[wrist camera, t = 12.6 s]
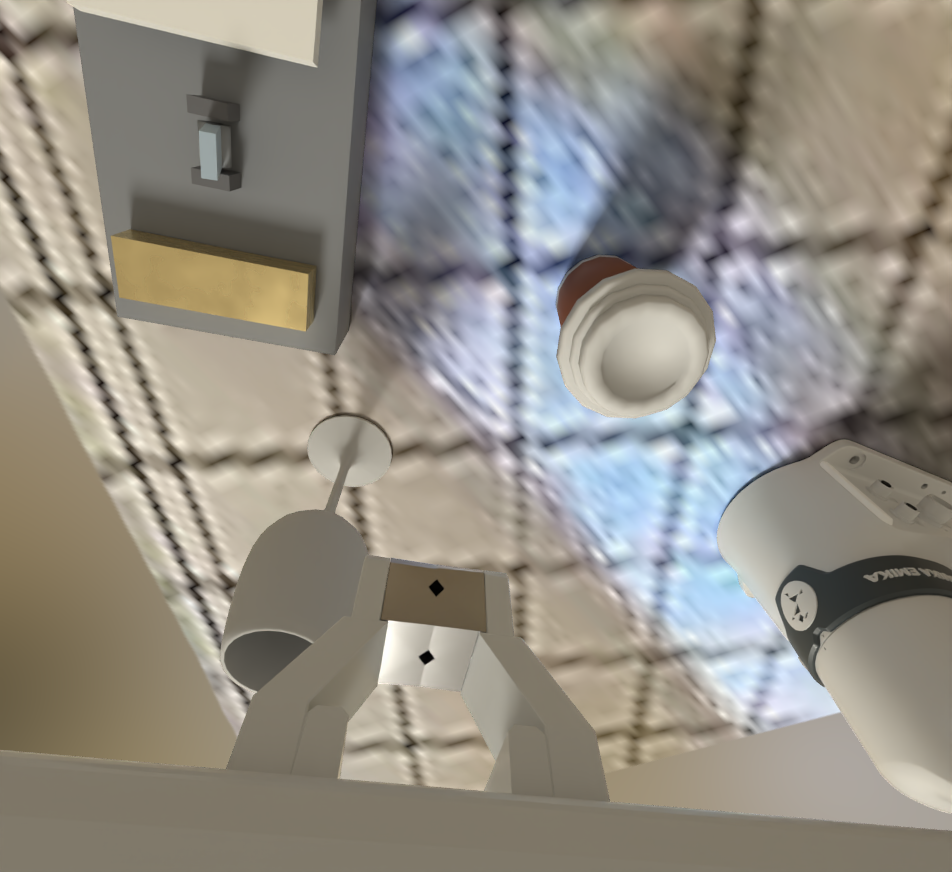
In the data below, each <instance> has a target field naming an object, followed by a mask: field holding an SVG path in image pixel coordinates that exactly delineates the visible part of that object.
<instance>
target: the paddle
mask: <svg viewBox="0 0 952 872" xmlns="http://www.w3.org/2000/svg"><path fill="white" fill-rule="evenodd" d="M197 125H198V144H199V162H200V164H201V178H203V179H210V180H216V181H218V178H219V175H220V172H221V169H222V168H231V167H232V159H231V126H229V125H225V124H221V123H217V122H212V121H205V120H197Z"/></svg>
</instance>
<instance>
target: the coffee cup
mask: <svg viewBox="0 0 952 872" xmlns="http://www.w3.org/2000/svg"><path fill="white" fill-rule="evenodd" d="M556 308H557V312H558V316H559V320H560V325H561V329H560V336H559V343H558V349H557V356H556V357H557V360H558V364H559V367H560V371H561V374H562V378H563V381H564V384H565V387H566V388H567V389H568V390H569V391H570V392H571V393H572V394H573V396H574V397H575V398H576V399H577V400H578V401H579V402H580V403H581V405H582V406H584V407H586V408H589V409H591V410H593V411H595V412H597V413H600V414H602V415H604V416H606V417H619V418H638V417H643V416H647V415H650V414H653V413H657V412H660V411H663V410H667V409H668V408H669V407H671V406H672V405H674V404H675V403H677V402H678V401H680V400H681V399H683V398H684V397H686V396H687V395H688V394H689V392H690V391H691V390H692V388H693V387H694V386H695V384H696V383H697V382H698V380H699V379H700V378H701V377H702V375H703V374H704V372H705V371H706V370H707V368H708V364H709V361H710V358H711V355H712V351H713V348H714V345H715V342H716V337H715V328H714V320H713V311H712V310H711V308H710V307H709V305H708V304H707V302H706V301H705V299H704V298H703V296H702V295H701V293H700V292H699V290H698V289H697V287H695V286H694V285H693V284H691V283H689V282H687V281H685V280H684V279H682V278H680V277H678V276H676V275H674V274H672V273H671V272H669V271H667V270H653V269H638V268H636V267H634V266H632V265H631V264H630V263H628V262H626V261H624V260H623V259H621V258H619V257H617V256H613V255H595V256H593V257H590V258H587V259H584V260H581V261H580V262H579V263H577V264H576V265H575V266H574V267H573V268H571V269H570V270H569V271H568V272H567V273H566V275H565V276H564V278H563V280H562V282H561V283H560V285H559V287H558V291H557V298H556Z"/></svg>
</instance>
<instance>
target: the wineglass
mask: <svg viewBox="0 0 952 872" xmlns="http://www.w3.org/2000/svg"><path fill="white" fill-rule="evenodd" d="M307 449H308V456H309V459H310V461H311V463H312V465H313V466H314V468H315V469H316V470H317V471H318V472H319V473H320V474H321V475H322V476H323V477H325V478H326V479H328V480H330V481H332V482H334V486H333V489H332V492H331V494H330V497H329V500H328V503H327V506H326V508H325V510H305V511H298V512H295V513H291V514H288V515H286V516H284V517H283V518H281V519H279V520H278V521H276V522H275V523H273V524H272V525H270V526H269V527H268V528H267V529H266V530H265V531H264V532H263V533H262V534H261V535H260V537H259V538H258V540H257V541H256V542H255V544H254V545H253V547H252V549H251V551H250V553H249V555H248V557H247V559H246V562H245V564H244V566H243V568H242V571H241V574H240V577H239V580H238V583H237V586H236V589H235V592H234V596H233V599H232V602H231V606H230V609H229V613H228V617H227V621H226V625H225V630H224V634H223V639H222V645H221V651H220V662H221V665H222V668H223V670H224V672H225V673H226V674H227V676H228V677H229V678H230V679H231V680H232V681H234V682H235V683H236V684H237V685H239V686H241V687H242V688H244V689H246V690H248V691H250V692H253V693H257V692H258V691H259V690H260V689H261V688H262V687H264V686H265V685H266V684H267V683H268V682H269V681H270V680H272V679H273V678H274V677H275V676H276V675H277V674H278V673H280V672H281V671H282V670H283V669H284V668H285V667H286V666H288V665H289V664H290V663H291V662H292V661H293V660H294V659H296V658H297V657H298V656H299V655H300V654H301V653H302V652H304V651H305V650H306V649H307V648H308V647H309V646H310V645H312V644H313V643H314V642H315V641H316V640H317V639H318V638H320V637H321V636H322V635H323V634H324V633H325V632H326V631H327V630H329V629H330V628H331V627H332V626H333V625H334V624H335V623H337V622H338V621H339V620H340V619H341V618H342V617H343V616H347V617H351V615H352V611H353V607H354V602H355V598H356V593H357V589H358V584H359V580H360V576H361V571H362V567H363V562H364V559H365V557H366V554H367V555H369V554H368V551H367V548H366V545H365V543H364V541H363V538H362V536H361V535H360V533H359V532H358V531H357V530H356V528H355V527H353V526H352V525H351V524H350V523H349V522H348V521H346V520H345V519H344V518H343V517H341V516H339V515H337V514H335V510H336V507H337V504H338V501H339V498H340V495H341V492H342V489H343V486H350V487H357V486H365V485H368V484H371V483H373V482H375V481H377V480H379V479H380V478H381V477H382V476H383V475H384V474H385V473H386V472H387V470H388V468H389V466H390V463H391V458H392V450H391V445H390V443H389V440H388V438H387V437H386V435H385V434H384V432H383V431H382V430H381V429H380V428H378V427H377V426H376V425H375V424H373V423H371V422H370V421H368V420H366V419H363V418H360V417H357V416H349V415H342V416H335V417H332V418H329V419H326V420H324V421H323V422H321V423H320V424H318V425H317V427H316V428H315V429H314V430H313V431H312V433H311V436H310V438H309V440H308V447H307Z"/></svg>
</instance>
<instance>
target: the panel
mask: <svg viewBox="0 0 952 872" xmlns="http://www.w3.org/2000/svg"><path fill="white" fill-rule="evenodd" d="M376 4H377V0H323V7H322V19H321V32H320V45H319V57H318V68H316V67H312V66H308V65H303V64H299V63H295V62H291V61H287V60H283V59H278V58H274V57H270V56H266V55H262V54H257V53H253V52H249V51H245V50H241V49H237V48H232V47H228V46H224V45H220V44H216V43H212V42H207V41H203V40H199V39H195V38H191V37H186V36H182V35H178V34H174V33H170V32H166V31H161V30H157V29H153V28H149V27H145V26H140V25H136V24H132V23H128V22H124V21H120V20H115V19H111V18H107V17H103V16H99V15H94V14H90V13H86V12H82V11H80V10H78V9H76V8H75V7H73V8H74V15H75V22H76V29H77V36H78V43H79V50H80V57H81V64H82V71H83V78H84V85H85V92H86V99H87V106H88V113H89V120H90V127H91V134H92V141H93V148H94V155H95V162H96V169H97V176H98V183H99V190H100V197H101V204H102V211H103V218H104V225H105V232H106V239H107V246H108V253H109V260H110V267H111V274H112V281H113V288H114V295H115V302H116V309H117V316H118V317H123V318H129V319H135V320H140V321H146V322H151V323H157V324H163V325H168V326H174V327H179V328H185V329H191V330H196V331H202V332H208V333H213V334H219V335H224V336H230V337H236V338H241V339H247V340H252V341H258V342H264V343H269V344H275V345H281V346H286V347H292V348H297V349H303V350H309V351H314V352H320V353H325V354H331V355H335V354H336V353H337V351H338V349H339V347H340V345H341V343H342V342H343V340H344V338H345V336H346V334H347V332H348V331H349V322H350V310H351V298H352V286H353V275H354V263H355V251H356V239H357V228H358V216H359V204H360V192H361V180H362V169H363V157H364V145H365V133H366V122H367V110H368V98H369V86H370V75H371V63H372V51H373V39H374V28H375V16H376ZM197 120H205V121H212V122H217V123H221V124H225V125H229V126H231V159H232V167H231V168H222V169H221V172H220V175H219V178H218V181H216V180H210V179H203V178H201V164H200V162H199V144H198V125H197ZM129 229H131V230H136V231H141V232H146V233H151V234H157V235H162V236H167V237H172V238H177V239H182V240H187V241H192V242H197V243H202V244H207V245H213V246H218V247H223V248H228V249H233V250H238V251H243V252H248V253H253V254H258V255H263V256H268V257H274V258H279V259H284V260H289V261H294V262H299V263H304V264H309V265H314V266H317V267H316V287H315V307H314V321H313V323H312V324H311V325H310V327H309V328H308V329H307V331H300V330H295V329H289V328H284V327H278V326H273V325H267V324H262V323H256V322H251V321H245V320H240V319H234V318H229V317H223V316H218V315H212V314H207V313H201V312H196V311H190V310H185V309H179V308H174V307H168V306H163V305H157V304H152V303H146V302H141V301H135V300H130V299H125V298H119V292H118V284H117V277H116V270H115V263H114V256H113V248H112V241H111V235H114V234H117V233H120V232H123V231H126V230H129Z"/></svg>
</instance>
